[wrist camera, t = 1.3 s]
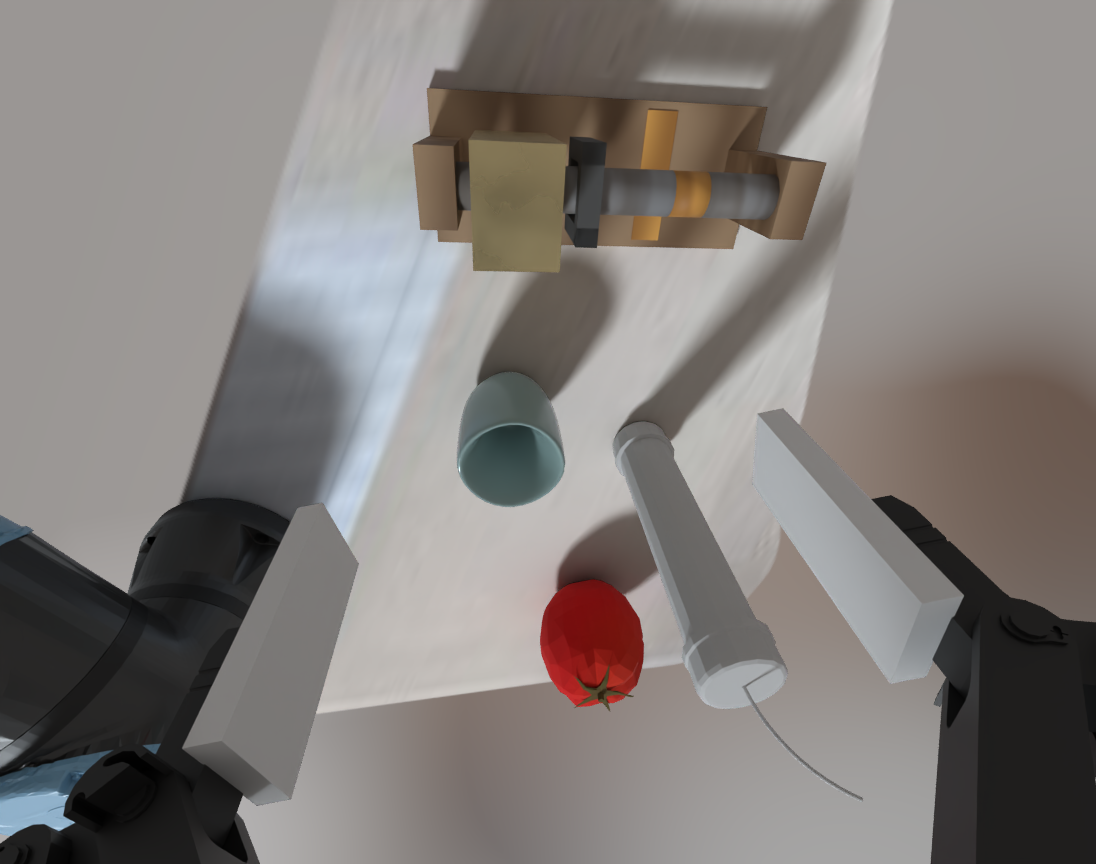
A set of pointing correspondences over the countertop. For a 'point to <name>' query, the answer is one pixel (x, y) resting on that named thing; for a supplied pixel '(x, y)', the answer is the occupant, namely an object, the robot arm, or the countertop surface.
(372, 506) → the countertop surface
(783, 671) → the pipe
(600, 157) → the dark grey square ring
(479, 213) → the sleeve
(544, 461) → the cup
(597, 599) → the tomato
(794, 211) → the rail
